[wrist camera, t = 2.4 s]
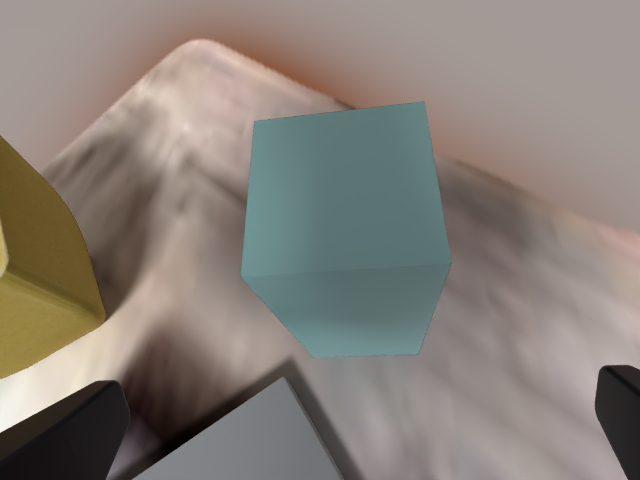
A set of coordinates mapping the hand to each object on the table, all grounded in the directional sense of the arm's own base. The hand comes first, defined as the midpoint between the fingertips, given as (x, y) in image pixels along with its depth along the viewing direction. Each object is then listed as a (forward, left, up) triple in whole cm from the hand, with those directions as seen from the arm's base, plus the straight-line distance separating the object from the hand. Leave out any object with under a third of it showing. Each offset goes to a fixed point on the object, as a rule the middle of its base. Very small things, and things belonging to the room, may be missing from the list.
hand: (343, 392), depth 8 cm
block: (+4, -3, -12) cm, 13 cm away
